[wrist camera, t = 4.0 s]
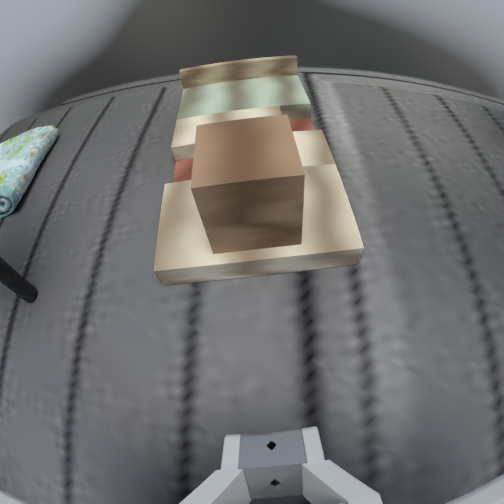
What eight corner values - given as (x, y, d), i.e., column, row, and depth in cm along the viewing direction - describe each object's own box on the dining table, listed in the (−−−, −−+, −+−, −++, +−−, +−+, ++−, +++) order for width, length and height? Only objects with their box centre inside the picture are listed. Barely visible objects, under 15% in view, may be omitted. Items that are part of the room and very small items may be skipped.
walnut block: (288, 182, 29) (287, 114, 23) (301, 244, 25) (304, 174, 19) (213, 191, 29) (196, 125, 23) (213, 254, 25) (190, 188, 19)
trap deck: (296, 86, 44) (295, 55, 39) (358, 263, 26) (371, 224, 22) (187, 99, 45) (180, 69, 40) (163, 285, 27) (140, 251, 22)
